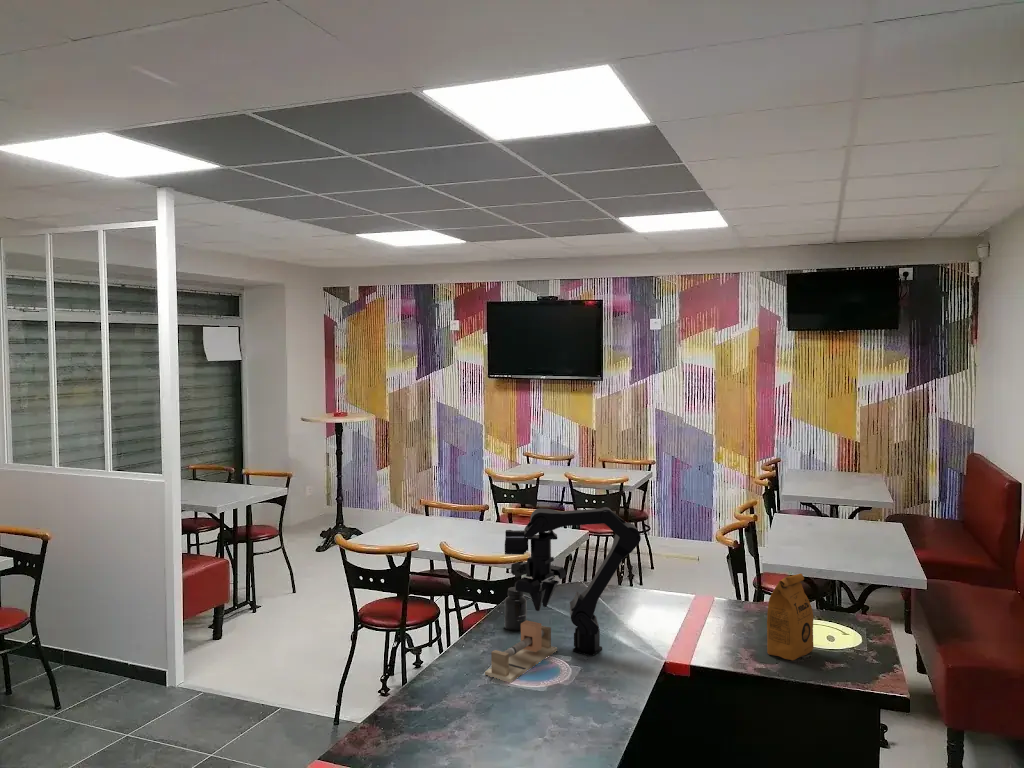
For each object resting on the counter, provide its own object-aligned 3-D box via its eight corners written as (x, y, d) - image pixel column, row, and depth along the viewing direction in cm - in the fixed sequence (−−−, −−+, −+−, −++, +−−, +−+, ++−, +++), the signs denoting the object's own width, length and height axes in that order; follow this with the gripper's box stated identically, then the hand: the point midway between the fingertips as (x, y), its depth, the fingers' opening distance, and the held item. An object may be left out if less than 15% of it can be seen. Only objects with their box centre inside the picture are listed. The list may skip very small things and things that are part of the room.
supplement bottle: (524, 632, 222) (524, 593, 222) (502, 630, 224) (502, 591, 223) (528, 624, 229) (528, 586, 229) (507, 622, 230) (506, 585, 230)
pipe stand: (533, 645, 212) (533, 622, 212) (557, 651, 208) (557, 628, 208) (485, 675, 192) (484, 651, 192) (510, 682, 188) (510, 657, 188)
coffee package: (819, 654, 204) (820, 576, 203) (793, 665, 197) (793, 584, 196) (788, 643, 212) (788, 568, 211) (761, 653, 205) (761, 575, 204)
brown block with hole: (526, 644, 206) (526, 620, 206) (541, 648, 204) (541, 623, 203) (520, 648, 204) (520, 623, 204) (535, 652, 201) (535, 626, 201)
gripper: (533, 543, 220) (534, 594, 220) (498, 557, 204) (499, 613, 205) (566, 548, 213) (566, 601, 214) (532, 563, 198) (533, 620, 198)
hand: (541, 608), depth 208 cm, fingers open, 4 cm apart
